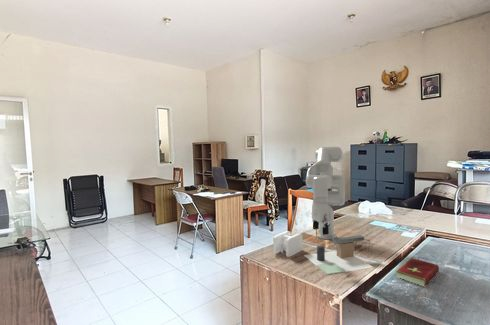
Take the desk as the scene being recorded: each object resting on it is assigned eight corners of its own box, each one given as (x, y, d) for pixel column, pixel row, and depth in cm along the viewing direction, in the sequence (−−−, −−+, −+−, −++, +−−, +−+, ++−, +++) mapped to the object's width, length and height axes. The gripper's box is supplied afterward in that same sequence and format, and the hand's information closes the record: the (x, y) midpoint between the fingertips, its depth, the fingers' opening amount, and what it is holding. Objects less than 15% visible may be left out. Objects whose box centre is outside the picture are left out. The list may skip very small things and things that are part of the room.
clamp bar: (332, 242, 148) (332, 238, 148) (360, 238, 153) (360, 235, 153) (335, 244, 145) (335, 240, 145) (364, 240, 150) (364, 236, 150)
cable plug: (315, 258, 147) (315, 246, 146) (322, 257, 148) (322, 245, 147) (319, 261, 143) (319, 248, 142) (326, 260, 144) (326, 247, 143)
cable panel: (303, 257, 151) (303, 241, 151) (344, 252, 158) (344, 236, 157) (327, 277, 128) (327, 258, 128) (373, 270, 135) (373, 252, 134)
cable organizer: (287, 260, 149) (287, 239, 148) (272, 255, 156) (272, 235, 155) (302, 252, 159) (302, 233, 158) (288, 248, 167) (288, 229, 166)
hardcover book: (438, 272, 132) (439, 264, 131) (425, 288, 118) (425, 279, 117) (411, 265, 141) (411, 257, 140) (395, 278, 127) (395, 270, 126)
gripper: (306, 197, 150) (306, 227, 151) (322, 203, 134) (322, 237, 135) (318, 196, 152) (318, 226, 153) (336, 202, 136) (336, 235, 136)
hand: (320, 231), depth 144 cm, fingers open, 9 cm apart
